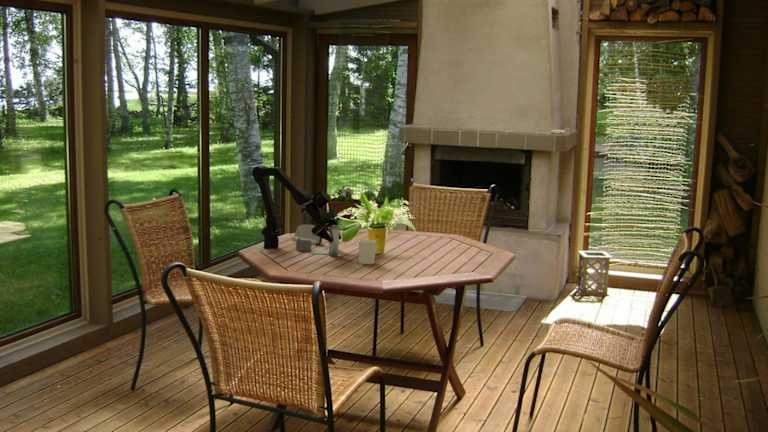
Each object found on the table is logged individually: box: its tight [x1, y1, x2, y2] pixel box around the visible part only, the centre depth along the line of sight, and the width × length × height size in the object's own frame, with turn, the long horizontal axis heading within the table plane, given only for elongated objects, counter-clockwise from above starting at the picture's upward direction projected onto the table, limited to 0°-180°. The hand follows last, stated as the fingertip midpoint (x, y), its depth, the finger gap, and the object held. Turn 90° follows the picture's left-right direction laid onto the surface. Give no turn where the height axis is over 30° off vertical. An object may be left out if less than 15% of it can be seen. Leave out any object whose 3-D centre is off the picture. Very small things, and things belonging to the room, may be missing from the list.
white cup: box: [358, 238, 377, 265], centre depth 370 cm, size 8×8×10 cm
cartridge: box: [328, 224, 341, 258], centre depth 382 cm, size 5×5×14 cm
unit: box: [295, 238, 312, 252], centre depth 393 cm, size 7×4×6 cm, turn 97°
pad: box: [310, 249, 329, 255], centre depth 388 cm, size 8×8×1 cm
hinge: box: [291, 224, 323, 247], centre depth 411 cm, size 17×5×10 cm, turn 52°
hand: (336, 240), depth 381 cm, fingers open, 9 cm apart
